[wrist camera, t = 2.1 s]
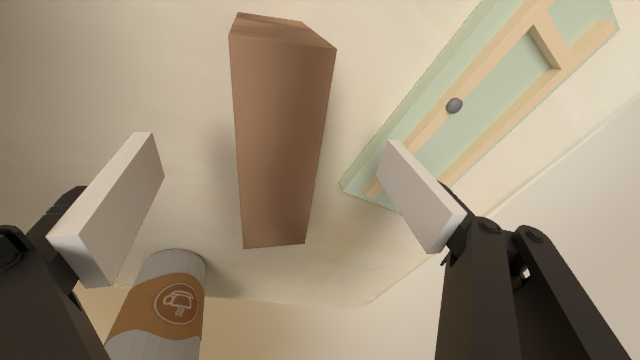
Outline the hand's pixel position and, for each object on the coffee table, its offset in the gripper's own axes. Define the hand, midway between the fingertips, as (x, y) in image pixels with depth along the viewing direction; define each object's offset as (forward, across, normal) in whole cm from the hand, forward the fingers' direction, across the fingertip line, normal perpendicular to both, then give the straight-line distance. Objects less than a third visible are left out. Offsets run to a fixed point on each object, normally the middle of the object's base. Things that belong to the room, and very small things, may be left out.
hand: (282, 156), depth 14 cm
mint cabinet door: (+7, +17, +1) cm, 19 cm away
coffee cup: (+7, -11, -19) cm, 23 cm away
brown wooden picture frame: (+7, 0, 0) cm, 7 cm away
